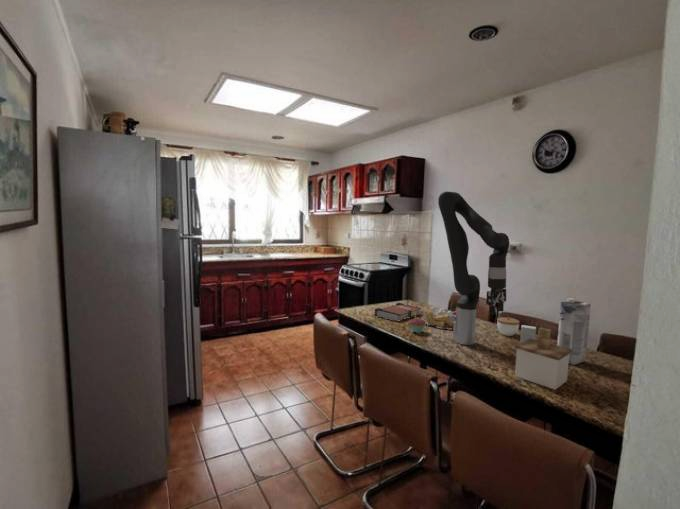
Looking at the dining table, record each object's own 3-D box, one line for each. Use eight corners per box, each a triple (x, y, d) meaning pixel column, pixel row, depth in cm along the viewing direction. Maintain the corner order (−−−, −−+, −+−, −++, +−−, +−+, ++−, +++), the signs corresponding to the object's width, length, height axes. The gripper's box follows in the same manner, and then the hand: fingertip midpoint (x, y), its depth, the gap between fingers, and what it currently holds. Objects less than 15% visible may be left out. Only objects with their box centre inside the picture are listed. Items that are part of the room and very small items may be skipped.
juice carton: (588, 362, 151) (593, 300, 149) (574, 366, 146) (580, 302, 144) (566, 355, 159) (571, 296, 157) (553, 359, 154) (558, 298, 151)
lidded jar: (504, 337, 182) (506, 320, 181) (492, 331, 192) (493, 314, 191) (523, 337, 184) (524, 319, 183) (509, 330, 194) (510, 314, 194)
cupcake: (407, 333, 185) (408, 310, 184) (410, 328, 193) (411, 307, 192) (424, 335, 182) (425, 312, 181) (426, 330, 190) (427, 308, 189)
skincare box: (534, 352, 162) (536, 326, 161) (534, 355, 158) (536, 329, 157) (519, 349, 165) (521, 324, 164) (519, 352, 161) (521, 326, 160)
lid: (515, 348, 134) (516, 327, 134) (529, 341, 143) (530, 321, 142) (558, 360, 123) (560, 337, 122) (571, 352, 131) (573, 331, 131)
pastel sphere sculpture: (460, 333, 188) (461, 316, 187) (418, 326, 200) (418, 310, 199) (470, 323, 209) (471, 307, 208) (431, 316, 221) (432, 302, 220)
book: (398, 322, 205) (398, 314, 205) (374, 316, 217) (374, 308, 217) (421, 315, 224) (422, 307, 224) (398, 310, 236) (399, 302, 236)
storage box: (514, 376, 135) (516, 348, 134) (527, 368, 143) (529, 341, 142) (555, 389, 125) (557, 359, 124) (566, 380, 133) (569, 352, 132)
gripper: (496, 275, 166) (495, 309, 167) (481, 277, 157) (480, 313, 158) (512, 276, 161) (511, 311, 161) (497, 279, 151) (497, 316, 152)
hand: (496, 312), depth 160 cm, fingers open, 8 cm apart
